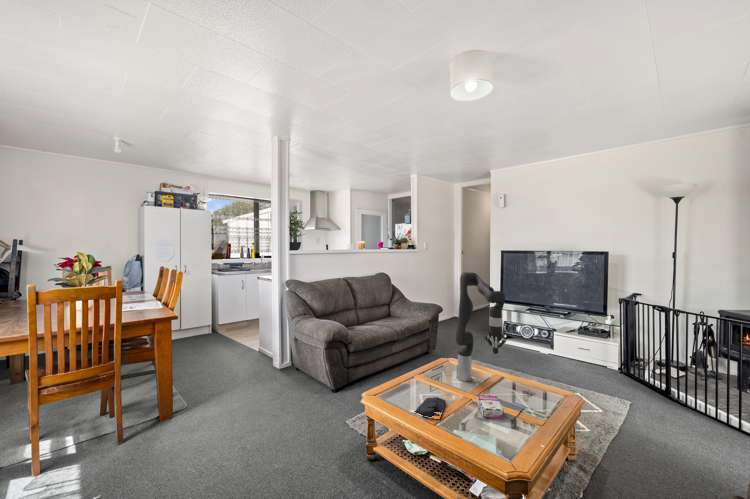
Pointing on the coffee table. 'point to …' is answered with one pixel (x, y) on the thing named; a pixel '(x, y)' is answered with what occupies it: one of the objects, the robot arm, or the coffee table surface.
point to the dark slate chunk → (431, 406)
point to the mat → (512, 406)
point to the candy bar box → (490, 406)
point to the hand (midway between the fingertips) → (495, 353)
